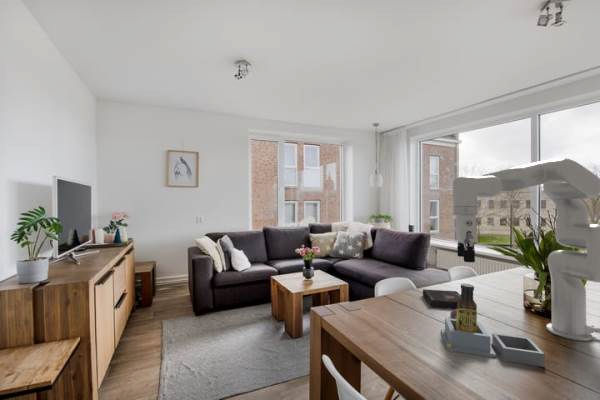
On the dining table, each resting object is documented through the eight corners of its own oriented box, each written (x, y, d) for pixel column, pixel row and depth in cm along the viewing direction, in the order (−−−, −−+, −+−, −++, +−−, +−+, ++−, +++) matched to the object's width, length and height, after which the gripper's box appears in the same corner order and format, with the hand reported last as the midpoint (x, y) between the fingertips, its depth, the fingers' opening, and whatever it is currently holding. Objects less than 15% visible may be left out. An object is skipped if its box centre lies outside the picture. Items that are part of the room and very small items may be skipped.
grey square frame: (528, 349, 94) (528, 337, 94) (544, 367, 84) (544, 353, 84) (492, 344, 97) (492, 333, 97) (503, 360, 87) (503, 348, 87)
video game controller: (468, 330, 111) (476, 315, 111) (457, 324, 112) (465, 309, 112) (458, 320, 121) (466, 306, 121) (448, 314, 122) (456, 301, 121)
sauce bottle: (457, 342, 96) (456, 286, 97) (455, 334, 102) (454, 281, 102) (478, 346, 94) (478, 288, 94) (475, 338, 100) (475, 283, 100)
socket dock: (482, 337, 102) (482, 321, 102) (496, 357, 89) (495, 339, 89) (441, 331, 107) (440, 316, 107) (447, 350, 94) (447, 332, 94)
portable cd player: (470, 311, 128) (470, 302, 128) (431, 308, 131) (431, 300, 131) (457, 298, 144) (457, 291, 144) (422, 296, 147) (422, 289, 147)
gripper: (484, 212, 89) (485, 265, 89) (470, 210, 105) (471, 255, 105) (458, 212, 91) (459, 263, 91) (448, 210, 108) (449, 254, 108)
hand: (465, 259), depth 98 cm, fingers open, 9 cm apart
